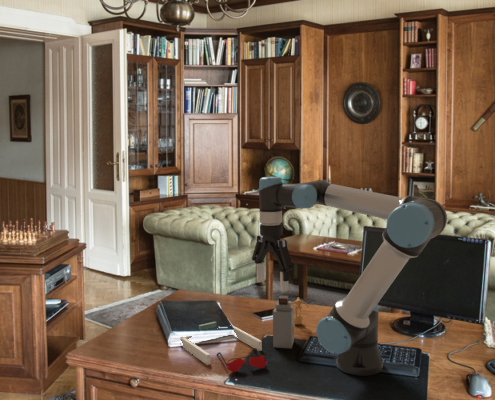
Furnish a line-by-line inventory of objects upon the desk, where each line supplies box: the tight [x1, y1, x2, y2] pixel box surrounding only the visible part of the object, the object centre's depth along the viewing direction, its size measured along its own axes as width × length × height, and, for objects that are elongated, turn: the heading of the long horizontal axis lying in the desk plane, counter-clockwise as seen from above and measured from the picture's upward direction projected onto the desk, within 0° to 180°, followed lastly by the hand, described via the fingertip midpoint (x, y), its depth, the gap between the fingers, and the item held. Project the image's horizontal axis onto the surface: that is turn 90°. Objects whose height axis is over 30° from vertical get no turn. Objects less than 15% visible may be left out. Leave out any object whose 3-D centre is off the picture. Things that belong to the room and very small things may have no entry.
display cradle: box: [179, 321, 263, 366], centre depth 202 cm, size 20×22×6 cm
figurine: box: [291, 296, 309, 326], centre depth 224 cm, size 8×6×12 cm
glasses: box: [216, 348, 268, 373], centre depth 190 cm, size 14×16×5 cm
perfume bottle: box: [272, 295, 295, 349], centre depth 204 cm, size 7×7×18 cm
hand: (272, 286), depth 187 cm, fingers open, 13 cm apart
